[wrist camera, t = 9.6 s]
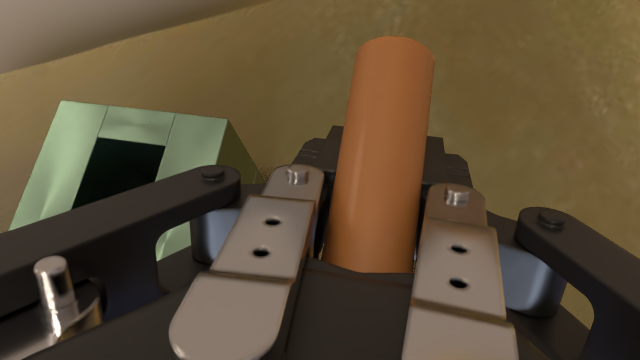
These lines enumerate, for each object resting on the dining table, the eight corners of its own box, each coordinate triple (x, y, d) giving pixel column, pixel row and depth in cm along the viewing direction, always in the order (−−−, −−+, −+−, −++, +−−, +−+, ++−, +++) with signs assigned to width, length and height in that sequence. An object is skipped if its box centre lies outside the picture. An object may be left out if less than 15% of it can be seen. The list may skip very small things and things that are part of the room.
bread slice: (386, 361, 18) (406, 367, 9) (334, 352, 18) (299, 348, 9) (408, 177, 20) (441, 30, 11) (361, 171, 21) (356, 23, 11)
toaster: (239, 388, 32) (167, 405, 21) (94, 359, 33) (-45, 359, 22) (280, 193, 36) (240, 119, 25) (152, 175, 38) (60, 99, 27)
